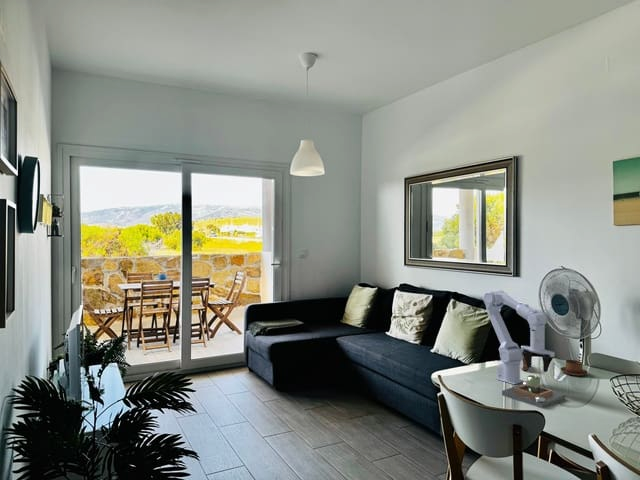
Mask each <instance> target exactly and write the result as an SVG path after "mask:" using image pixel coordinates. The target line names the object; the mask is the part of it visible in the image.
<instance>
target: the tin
mask: <svg viewBox="0 0 640 480" xmlns="http://www.w3.org/2000/svg"><path fill="white" fill-rule="evenodd" d="M522 352H523V351H522ZM520 369H521V370H522V371H528V370H529V368H527V364H526V360H525V358H524V356H523V359H522V360H521V363H520Z"/></svg>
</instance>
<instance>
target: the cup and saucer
mask: <svg viewBox="0 0 640 480" xmlns="http://www.w3.org/2000/svg"><path fill="white" fill-rule="evenodd" d="M560 371H561V372H562V373H564V374H566V375H570V376H577V377H582V376H586V375H587V374H588V373H589V372H588V371H587V370H586V369H584V368H583V362H582V361H579V360H575V359H567V360H565V366H563V367H560Z"/></svg>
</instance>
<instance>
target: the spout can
mask: <svg viewBox="0 0 640 480" xmlns="http://www.w3.org/2000/svg"><path fill="white" fill-rule="evenodd" d="M526 379H527V380H526V381H527V391H529V392H532V393H535V394H540V387H541V377H540V376H538V375H531V374H530V375H529V374H528V376H527V378H526Z"/></svg>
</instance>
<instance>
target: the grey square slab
mask: <svg viewBox="0 0 640 480" xmlns="http://www.w3.org/2000/svg"><path fill="white" fill-rule="evenodd" d="M501 396H503V397H507V398H510V399H513V400H515V401H519V402H521V403H525V404H527V405H530V406H534V407H537V408H540V409H545V408H546V407H550V406H552V405H554V404H557V403H560V402H562V401H565V400H566V394H565V393H561V392H557V391H554V390H553V389H549V388H546V387H543V386H540V394H535V393H532V392H529V391H527V380H523V382H522V384H518V385H515V386H512V387H509V388H506V389H503V390H501Z"/></svg>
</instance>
